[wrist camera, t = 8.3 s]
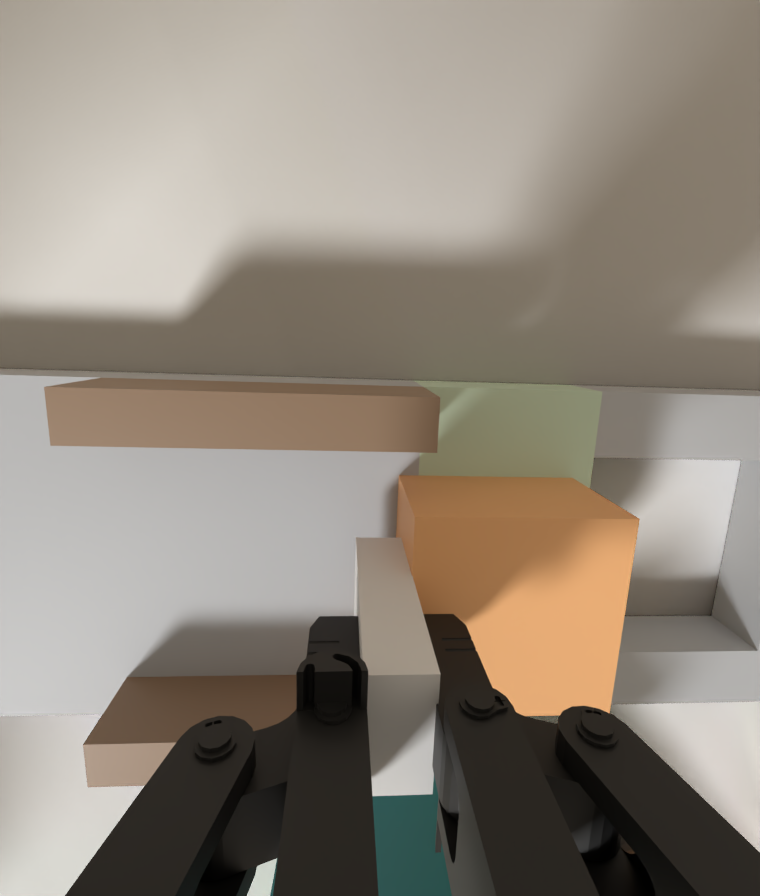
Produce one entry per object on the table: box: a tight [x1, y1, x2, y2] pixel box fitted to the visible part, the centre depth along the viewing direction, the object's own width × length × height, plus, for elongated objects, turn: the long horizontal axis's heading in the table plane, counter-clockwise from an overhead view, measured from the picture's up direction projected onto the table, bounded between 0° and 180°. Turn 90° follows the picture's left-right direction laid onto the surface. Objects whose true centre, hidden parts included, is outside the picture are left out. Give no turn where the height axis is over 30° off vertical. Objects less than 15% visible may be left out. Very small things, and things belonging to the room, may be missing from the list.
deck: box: [0, 368, 760, 787], centre depth 17 cm, size 34×12×6 cm, turn 88°
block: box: [396, 475, 639, 716], centre depth 16 cm, size 6×6×4 cm
